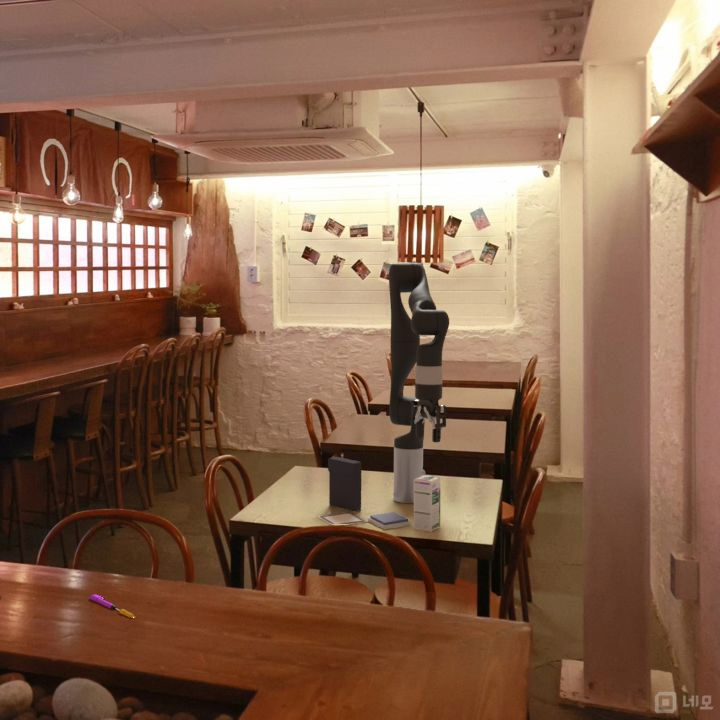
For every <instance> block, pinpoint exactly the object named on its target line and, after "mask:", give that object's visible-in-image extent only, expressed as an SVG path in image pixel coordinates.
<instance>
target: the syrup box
mask: <svg viewBox="0 0 720 720" xmlns="http://www.w3.org/2000/svg"><path fill="white" fill-rule="evenodd" d="M439 528H441V477H438V476H434V475H426V474H425V475H423V476H421V477H419V478H417V479H414V503H413V529H414V530H418V531H422V532H428V533H432V532H434V531H435V530H437V529H439Z"/></svg>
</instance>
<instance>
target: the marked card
mask: <svg viewBox="0 0 720 720" xmlns="http://www.w3.org/2000/svg"><path fill="white" fill-rule="evenodd" d="M318 519H320V520H322V521H324V522H325V523H327V524H329V525H330V524H351V525H356V524H355V523H357V524H362V523H367V522H368V520H365V519H364V518H362V517H361V516H358V515H357V514H354V512H352V511H345V512H339V513H333V514H332V513H331V514H326V515H324V514H323V515H320V516H318Z"/></svg>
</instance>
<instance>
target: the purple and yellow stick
mask: <svg viewBox="0 0 720 720" xmlns="http://www.w3.org/2000/svg"><path fill="white" fill-rule="evenodd" d="M101 596H102V595H98V594H91V595H90V596H89V599H90V600H91V601H93V602H95V603H97V604H100V605H102V606H104V607H106V608H109V609H111V610H117V611H118V612H119V614H121V615H123V616H124V617H125V616H126V617H128V618H129V619H130V618H131V619H136V618H137V617H136V616H135V615H134V613H132V612H129V611H128V610H127V609H124V608H121V609H119V608H117V606H116V605H115V604H113V603H111V602H109V601H106V600H105V599H104V598H103V597H104V596H103V597H101Z"/></svg>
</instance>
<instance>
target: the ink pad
mask: <svg viewBox="0 0 720 720" xmlns="http://www.w3.org/2000/svg"><path fill="white" fill-rule="evenodd" d="M367 522H369V523H371V524H372V525H374V524H375V526H377V527H378V528H380V529H382V530H387V529H388V530H389V529H395V528H401V527H407V526H411V525H412V524H411V523H412V522H411V521H410V520H409V518H407V517H405V516H403V515H401V514H399V513H397V512H395V511H392V512H386V513H385V512H384V513H378V514H377V513H376V514H373V515H371V514H370V517H369V516H368V517H367Z"/></svg>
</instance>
